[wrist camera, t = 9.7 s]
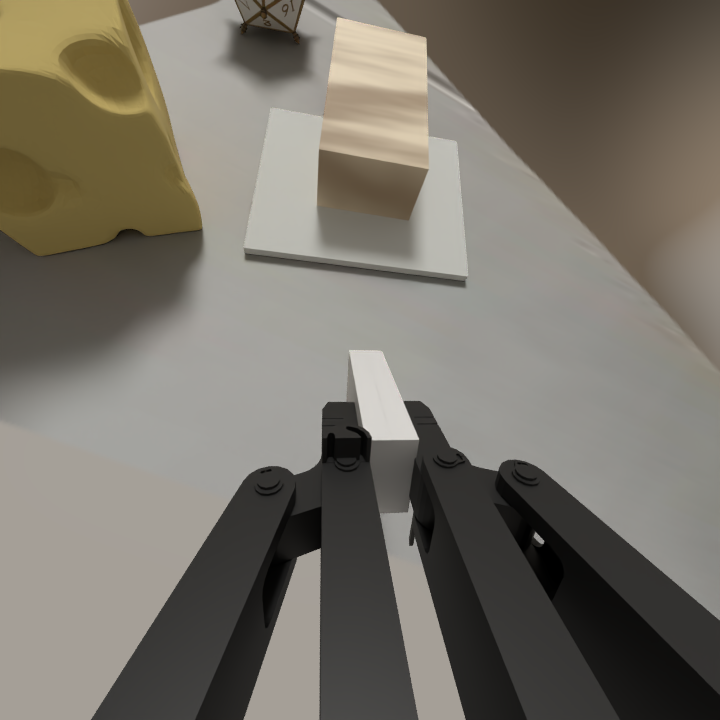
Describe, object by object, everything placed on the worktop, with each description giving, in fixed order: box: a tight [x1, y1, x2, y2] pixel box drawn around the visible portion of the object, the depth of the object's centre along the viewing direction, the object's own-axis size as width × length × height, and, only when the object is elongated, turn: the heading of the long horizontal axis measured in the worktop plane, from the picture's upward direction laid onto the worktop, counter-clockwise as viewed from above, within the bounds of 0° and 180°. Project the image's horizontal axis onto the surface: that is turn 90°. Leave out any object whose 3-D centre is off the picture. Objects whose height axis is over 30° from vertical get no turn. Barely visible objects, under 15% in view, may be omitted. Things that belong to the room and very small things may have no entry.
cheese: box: [0, 0, 202, 256], centre depth 19 cm, size 10×11×10 cm
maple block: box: [317, 17, 429, 220], centre depth 25 cm, size 4×7×14 cm
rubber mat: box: [243, 107, 468, 281], centre depth 26 cm, size 14×16×1 cm
